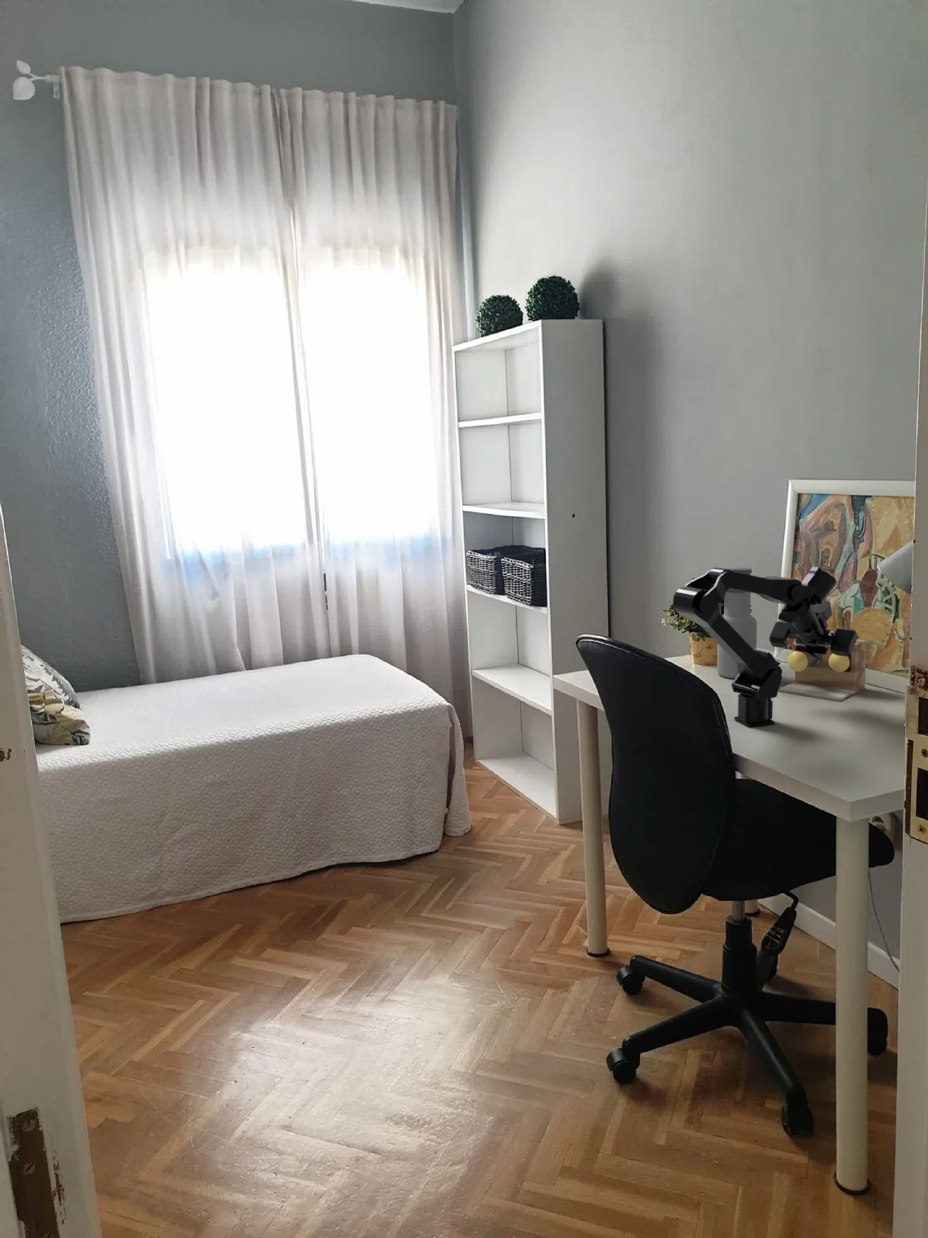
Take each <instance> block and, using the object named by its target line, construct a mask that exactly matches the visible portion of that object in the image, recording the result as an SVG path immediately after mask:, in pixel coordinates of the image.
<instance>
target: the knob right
mask: <svg viewBox="0 0 928 1238" xmlns="http://www.w3.org/2000/svg"><path fill="white" fill-rule="evenodd" d="M829 666H830V667H831V669H832V670H834V671H836V672H843V671H845V670H847V669H848V668H849V667H851V655H850V656H848V657H846V656H838V655H835V654H832V655H831V656H830V657H829Z"/></svg>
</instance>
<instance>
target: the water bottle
mask: <svg viewBox="0 0 928 1238" xmlns="http://www.w3.org/2000/svg"><path fill="white" fill-rule="evenodd" d="M727 569H730V570H731V571H734V572H738V573H743V574H748V575H752V570H753V569H752V568H751V567H730V568H727ZM751 595H752V593H751V592H746V591H741V590H736V589H731V588H729V589H728V590H727V591H726V593H725V596H724V598H723V600H724V601H723V602H724V603H723V605H724V606H723V608H724V610H723V612H724V613H723V615H722V617H723V618H724V619H725V620H726V621H727V622H728V623H729V624H730V625H731V626H732V627H733V628H734V629H735V630H736V631H737V632H738V634H739V635H740V636H741V637H742V638H743V639H744V640H745V641H746V642H747V643H748V644H749V645H750V646H751V647H752V648H753V649H757V642H758V641H757V640H758V639H757V635H758V633H757V632H758V631H757V630H758V629H757V626H758V624H757V623H758V622H757V619H756V618H755V617H754V616H753V615H752V614H751ZM719 610H720V614H721V611H722V601H721V602H720V603H719ZM716 649H717V653H716V654H717V656H716V657H717V658H716V659H717V663H716V665H717V668H716V671H717V674H718V675H719V676H721V678H722V677H723V678H727V679H732V680H733V679H735V678H736V677H737V675H738V674H739V673H738V670H737V663H736V662H735V661H734V660H733V659H732V658H731V657H730V656H729V655H728V653H727V652H726V651H725V650H724V649H723V648H722V647H721V646H720V645H719V644H718V643H717V647H716Z"/></svg>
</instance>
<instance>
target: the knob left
mask: <svg viewBox="0 0 928 1238" xmlns="http://www.w3.org/2000/svg"><path fill="white" fill-rule="evenodd" d="M817 662H819V660H818V659H816V658H814V657H811V656H809V655H807V654H804V653H802V652H796V651H794V652H791V653H790V654H789V655H788V656H787V666H788V668H789V669H791V670H792V671H793V672H795V671H796V672H800V671H802V670H804V669H805V668H806V667H809V666H811V665H813V664H815V663H817Z"/></svg>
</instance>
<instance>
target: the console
mask: <svg viewBox="0 0 928 1238" xmlns="http://www.w3.org/2000/svg"><path fill="white" fill-rule="evenodd" d="M830 631H831V632H830V633H833V636H834V635H835V632H836V631H832V630H830ZM867 642H868V641H867V640H866V639H858V638H857V641H856V643H855V645H854V648H853V650H852V653H851V667H849V668H848V669H847V670H845V671H843V672H836V671H834V670H832V669H831V667H830V666H829V657H830V656H831V655H832V654H833V653H831V650H830V646H829V649H828V651H827V653H826V654H825V658H824V660H823V661H821V660H819V661H818V662H817V663H815V664H813V665H811V666H809V667H806V668H805V669H804V670H802V671H800V672H796V671H794V682H791V683H789V684H787V685H785V686H783V687H781V688H780V687H779V690H778V692H779V693H784V694H785V693H786V694H792V695H797V696H804V697H811V698H816V699H820V700H821V699H822V700H827V701H828V700H829V701H835V702H841V701H843V700H845V699H846V698H849V697H851V696H853V695H854V694H855V695H856V694H857V693H859V692H861V691H863V690H864V689H866V667H867V666H866V665H867ZM795 652H799V651H796V650H795ZM862 689H863V690H862Z"/></svg>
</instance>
